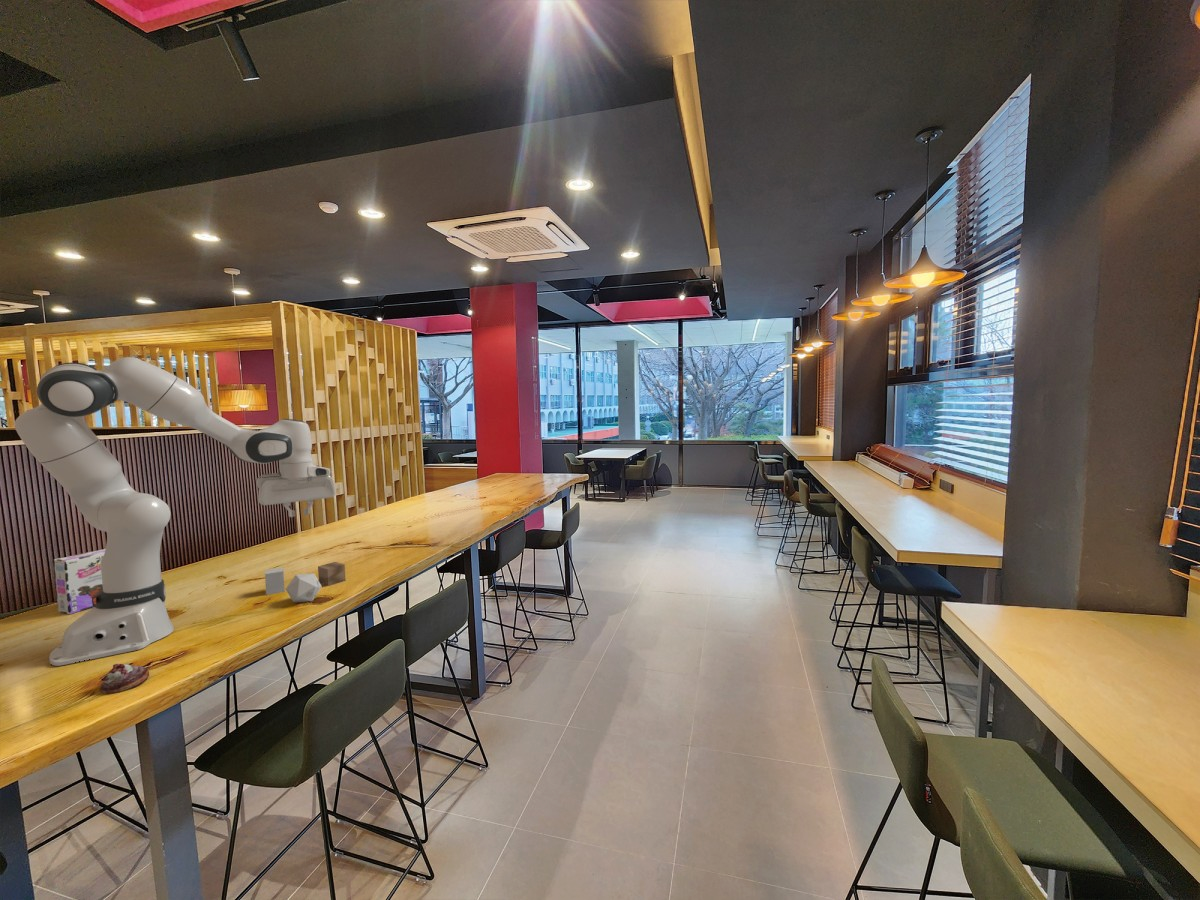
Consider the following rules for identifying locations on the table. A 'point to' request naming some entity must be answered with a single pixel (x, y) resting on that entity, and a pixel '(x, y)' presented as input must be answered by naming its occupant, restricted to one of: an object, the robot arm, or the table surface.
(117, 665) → the pastry
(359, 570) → the table surface
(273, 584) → the grey plastic block
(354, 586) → the table surface
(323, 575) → the walnut cube
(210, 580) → the table surface
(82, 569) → the candy box
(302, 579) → the die
